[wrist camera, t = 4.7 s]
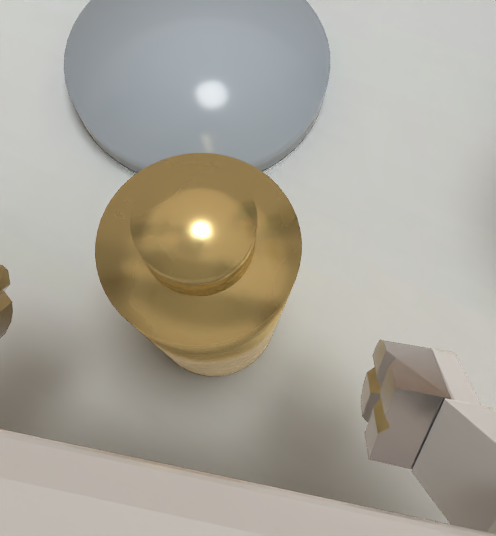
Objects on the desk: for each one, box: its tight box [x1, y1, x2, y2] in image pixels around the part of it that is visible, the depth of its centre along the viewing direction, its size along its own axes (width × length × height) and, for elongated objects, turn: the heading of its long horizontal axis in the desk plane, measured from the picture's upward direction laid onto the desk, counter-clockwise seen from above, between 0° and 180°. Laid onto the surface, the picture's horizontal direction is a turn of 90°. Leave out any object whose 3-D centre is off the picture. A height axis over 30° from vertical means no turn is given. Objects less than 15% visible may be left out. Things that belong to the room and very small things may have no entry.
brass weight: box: [95, 153, 302, 376], centre depth 12 cm, size 4×4×8 cm
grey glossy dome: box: [64, 0, 330, 173], centre depth 19 cm, size 11×11×1 cm
